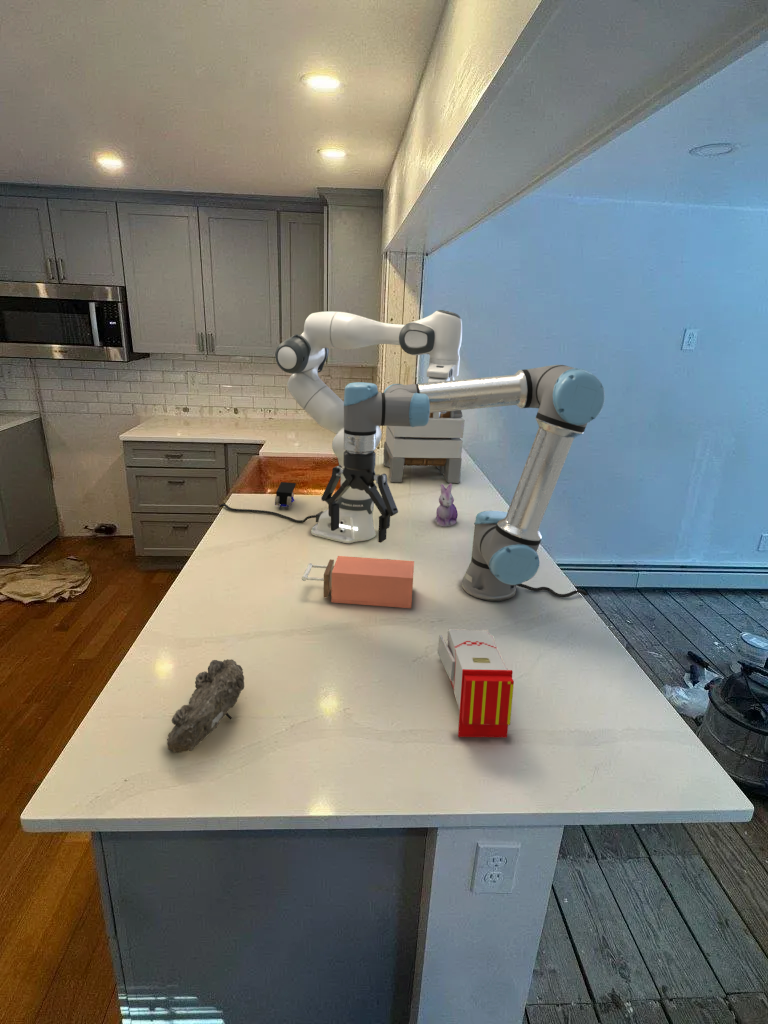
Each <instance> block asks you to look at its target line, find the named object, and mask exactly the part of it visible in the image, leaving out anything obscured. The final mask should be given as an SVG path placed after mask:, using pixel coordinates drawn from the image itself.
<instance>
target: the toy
mask: <svg viewBox="0 0 768 1024" xmlns="http://www.w3.org/2000/svg"><path fill="white" fill-rule="evenodd" d="M446 640H447V643H446V641H445V639H444V636H443V635H442V634H439V637H438V646H437V656H438V657H439V659H440V661H441V663H442V666H443V668H444V670H445V672H446V674H447V677H448V679H449V681H450V684H451V687H452V690H453V693H454V697H455V701H456V705H457V708H458V711H459V714H458V715H459V716H458V730H457V731H458V732H457V737H458V738H508V731H509V726H510V725H511V717H512V707H513V697H514V696H513V695H514V684H515V680H514V679H513V673H514V671H513V670H512V669H508V667H507V665H506V662H505V661H504V659H503V658H502V655H501V653H500V651H499V649H498V647H497V643H496V639H495V637H494V635H493V634H491V632H490V631H489V629H467V628H466V629H465V628H463V629H461V628H460V629H459V628H448V630H447V639H446Z"/></svg>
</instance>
